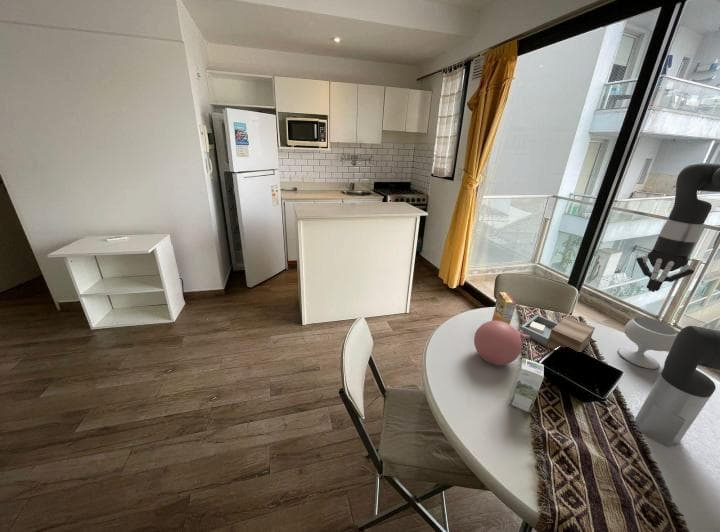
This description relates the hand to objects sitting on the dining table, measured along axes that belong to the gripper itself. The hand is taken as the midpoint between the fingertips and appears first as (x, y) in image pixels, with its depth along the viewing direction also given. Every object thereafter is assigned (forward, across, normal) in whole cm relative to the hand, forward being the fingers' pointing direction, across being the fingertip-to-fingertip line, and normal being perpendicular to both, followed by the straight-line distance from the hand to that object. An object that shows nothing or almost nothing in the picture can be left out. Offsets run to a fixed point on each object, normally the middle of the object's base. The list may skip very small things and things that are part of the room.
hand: (651, 290), depth 90 cm
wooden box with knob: (+33, -16, +6) cm, 37 cm away
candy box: (+33, -38, -6) cm, 51 cm away
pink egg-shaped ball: (+33, -28, -26) cm, 51 cm away
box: (+33, -26, +6) cm, 42 cm away
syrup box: (+33, -14, -40) cm, 54 cm away
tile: (+30, -27, +4) cm, 40 cm away
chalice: (+33, +4, +19) cm, 38 cm away
